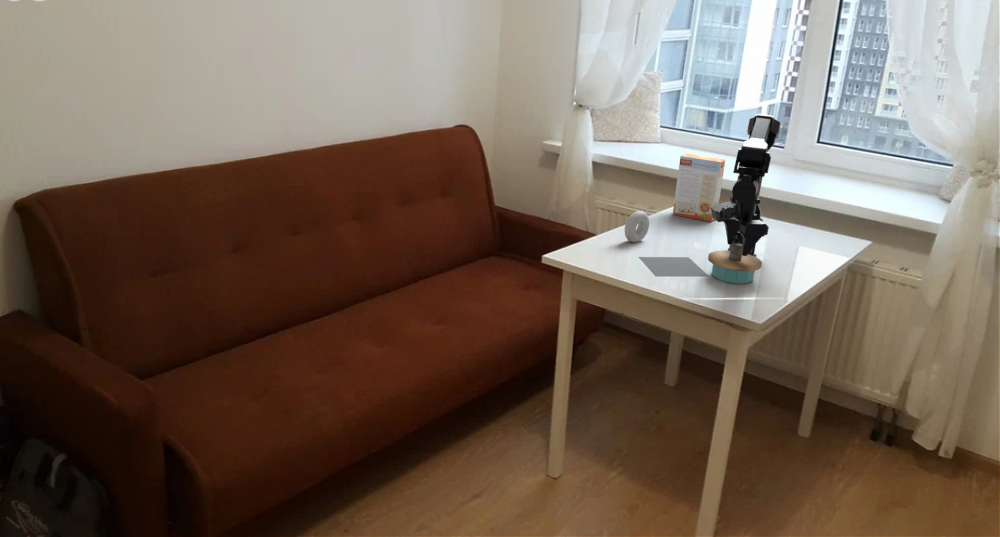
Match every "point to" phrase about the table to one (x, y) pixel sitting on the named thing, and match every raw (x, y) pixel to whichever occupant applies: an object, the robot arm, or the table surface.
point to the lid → (735, 259)
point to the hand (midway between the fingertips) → (736, 249)
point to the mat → (672, 266)
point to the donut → (631, 224)
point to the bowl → (732, 275)
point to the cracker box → (698, 186)
